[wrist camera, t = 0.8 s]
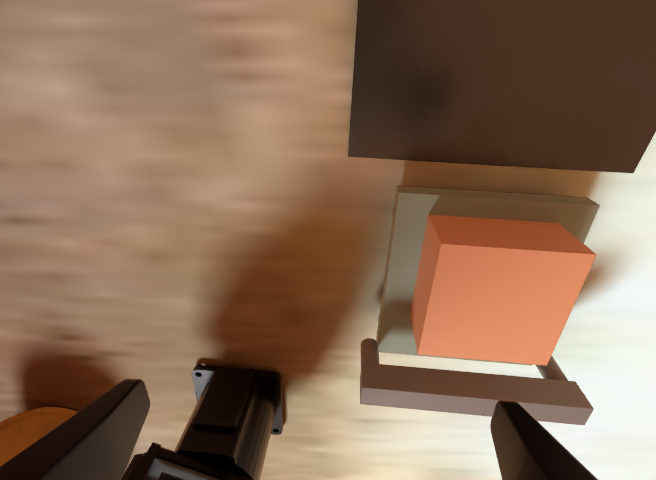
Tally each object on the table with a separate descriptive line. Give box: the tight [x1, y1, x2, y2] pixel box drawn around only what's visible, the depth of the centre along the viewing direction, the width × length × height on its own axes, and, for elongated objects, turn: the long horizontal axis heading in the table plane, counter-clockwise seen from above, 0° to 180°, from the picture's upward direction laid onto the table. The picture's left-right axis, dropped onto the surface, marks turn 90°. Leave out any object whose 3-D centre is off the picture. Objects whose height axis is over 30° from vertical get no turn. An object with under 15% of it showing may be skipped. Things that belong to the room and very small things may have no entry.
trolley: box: [360, 186, 600, 425], centre depth 18 cm, size 10×11×6 cm
